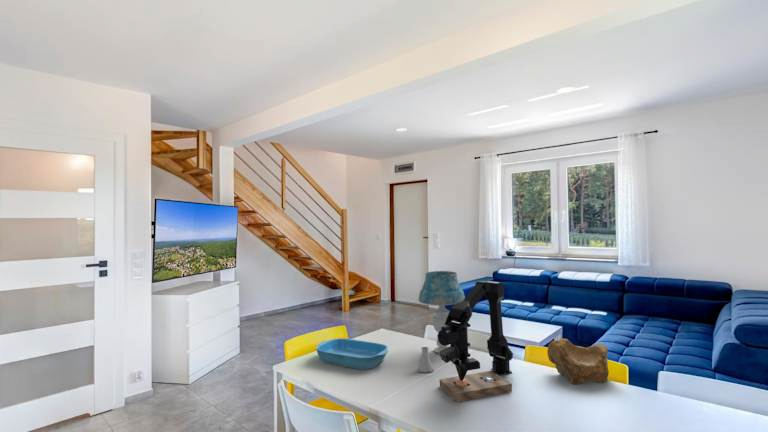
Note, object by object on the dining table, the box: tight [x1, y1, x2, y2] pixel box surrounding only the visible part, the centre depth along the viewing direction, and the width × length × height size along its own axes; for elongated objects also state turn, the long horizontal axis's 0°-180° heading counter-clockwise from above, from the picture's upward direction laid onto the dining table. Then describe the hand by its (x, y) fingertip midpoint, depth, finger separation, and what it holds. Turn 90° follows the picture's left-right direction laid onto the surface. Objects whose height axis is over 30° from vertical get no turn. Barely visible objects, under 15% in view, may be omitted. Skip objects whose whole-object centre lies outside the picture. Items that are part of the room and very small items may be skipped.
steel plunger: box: [482, 376, 494, 383], centre depth 152 cm, size 4×4×3 cm
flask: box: [417, 346, 434, 374], centre depth 170 cm, size 7×7×10 cm
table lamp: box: [418, 270, 466, 354], centre depth 196 cm, size 24×24×40 cm
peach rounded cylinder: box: [456, 378, 467, 387], centre depth 148 cm, size 4×4×3 cm
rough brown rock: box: [547, 338, 610, 385], centre depth 156 cm, size 23×17×15 cm
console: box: [438, 370, 513, 402], centre depth 150 cm, size 24×14×3 cm, turn 108°
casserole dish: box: [315, 337, 389, 371], centre depth 185 cm, size 37×22×7 cm, turn 64°
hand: (461, 380), depth 148 cm, fingers closed, pressing on peach rounded cylinder
